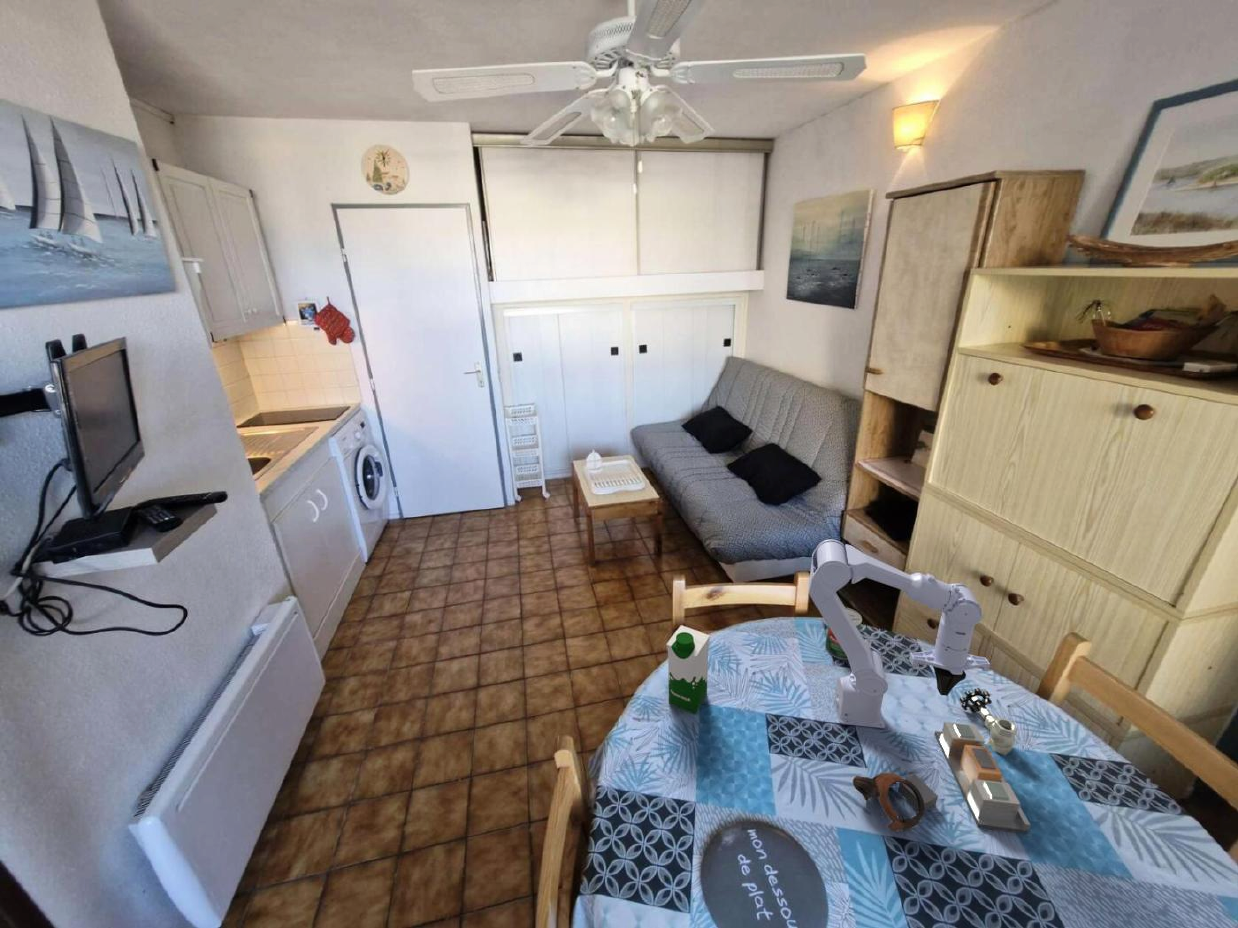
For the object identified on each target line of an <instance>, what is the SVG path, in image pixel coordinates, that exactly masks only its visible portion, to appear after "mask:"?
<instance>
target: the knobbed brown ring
mask: <svg viewBox="0 0 1238 928" xmlns="http://www.w3.org/2000/svg"><path fill="white" fill-rule="evenodd" d="M905 779H906V778H903V777H902V776H900V775H899V774H897V773H894V772H880V773H879V774H876V775H875V776H873V777H872V778H871V777H868V776H862V775H861V776H860V775H856V776H855V777H854V778H853V779H852V785H853V787H854V788H855V790H857V791H858V793H860V794H861V795H862V797H863V798H864V800H865V801H866V802H867V801H869V800H870V799H871V798H874V797H876V796H877V794H878V793H879V796H877V800H878V802H879V804H880V806H881V808H882V810H883V811H884V813H885V815H886V816H887V817H888V818H889V820H890V821H891V823H889V824H888V825H887V828H888V829H890V830H891V831H893V832H901V831H902V832H906V831H909V830H911V829H913V828H915V827H916V826H918V824H919V823H920V820H921V819H922V818H923V816H924V815H925V814H924V813H925V812H924V801H923V798H922V796H921V794H920V792H919V790H918V789H917V788H916V786H915V785H913V784H912V783H911V782H910V781H908V780H905ZM897 783H899V784H900V783H903V784H905V785H907V786H908V787H909V788H910V789H911V790H912V791H913V792H914V794H915V796H916V798H917V801H918V812H916V814H915V815H914V816H912V817H910V818H909V817H908V818H907V817H903V818H902V819H900V818H899V813H898V812H897V811H896V810H895V809H894V807H893V805H892V803H891V802H890V798H889V797H890V796H889V790H890V788H891V787H893V786H894V785H897Z"/></svg>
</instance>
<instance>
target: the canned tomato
mask: <svg viewBox="0 0 1238 928" xmlns="http://www.w3.org/2000/svg"><path fill="white" fill-rule="evenodd" d="M844 607H845V609H846V610H847V612H848V614H849V615H850V617H851V619H852V620H853V622H854V624H855V625H856V627H857V629H858V630H859V632H860V633H861V628H862V622H863V618H862V615H861V614H860V613H859V612H857V611H856V610H855V609H852V608H849V607H846V606H844ZM826 630H827V631H826V635H825V637H826V638H825V644H824V648H825V650H826V652H827V653H828V654H829V655H830V656H832V657H833V658H836V659H838V660H846V661H847V660H848V658H847V655H846V654H845V652H844V651H843V649H842V647H841V646H840V644H839V642H838V641H837V639H836V637H835V636H834V634H833V633H832V631H831V629H830V628H829V626H828V625H827V629H826ZM848 661H849V660H848Z"/></svg>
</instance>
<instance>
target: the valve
mask: <svg viewBox="0 0 1238 928" xmlns="http://www.w3.org/2000/svg"><path fill="white" fill-rule="evenodd" d="M964 694H965V696H966V697H965V696H962V697H959V698H958V699H959V701H960V703H961V708H962V709H963V711H968V710H970V711H971V713H972V714H975V713H979V714H980V716H981V717H982V718H983V719H984V720H985V721H984V725H985V727H986V728H987V729H988V730H990V732H989V733H990V734H989V735H990V737H989V740H988V742H987V744H988V745H989V746H990V748H991V749H992V751H993V750H994V752H995V753H997V752H998V754H1000V755H1003V756H1005V755H1008V753H1011V750H1012V747H1014V745H1015V743H1016V735H1017V732H1018V728H1017V726H1016V725H1015V724H1014V722H1013V721H1011V720H1009V719H1006V718H1004V717H995V716H993V714H992V713H991V712H990V710H989V709H987V707H986V706H988V705H991V704H992V703H993V701H992V700H991V699H990V697H991V694H990V693H989V692H988V691H987V690H984V691H982V690H981V689H980V688H979V687H976V688H974V692H971V691H970V690H966V691H964ZM979 697H982V699H980V698H979ZM969 702H970V703H972V704H970V703H969ZM968 708H969V709H968Z"/></svg>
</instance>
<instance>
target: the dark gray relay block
mask: <svg viewBox="0 0 1238 928" xmlns="http://www.w3.org/2000/svg"><path fill="white" fill-rule="evenodd" d="M904 779H905V780H908V781H910V782H911V783H912V784H913V785H915V786H916V788H917V789H918V790H919V792H920V794H921V796H922V798H923V801H924V813H926V812H928V811H929V810H931V809H933V808H934V807H936V805H937V802H938V798H939V795H938V794H937V793H936V792H934V790H932V789H931V787H929V785H927V783H925V782H924V781H923V780H922V779H921V777H919V776H918V775H917V774H915V773H913V774H911V775H910V776H907V777H906V778H904ZM897 793H898V794H900V795H901V796H902V798H904V799H905V801H906V802H907V803H908V804H910V805H911V806H912V808H914V809H915V811H917V812H918V801H917V798H916V796H915V794H914V792H913V791H912V790H911V789H910V788H909V787H908V786H907V785H905V784H903V783H900V782H899V784H898V789H897ZM917 812H916V813H917Z"/></svg>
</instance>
